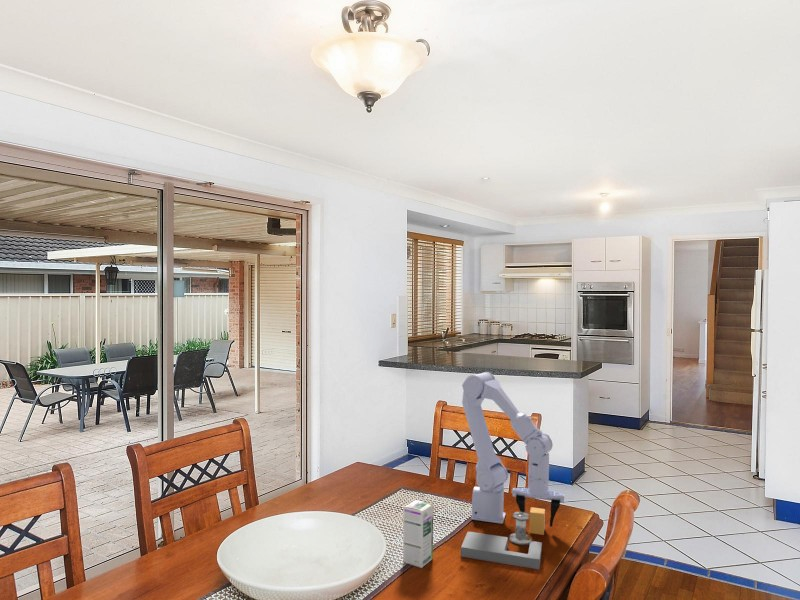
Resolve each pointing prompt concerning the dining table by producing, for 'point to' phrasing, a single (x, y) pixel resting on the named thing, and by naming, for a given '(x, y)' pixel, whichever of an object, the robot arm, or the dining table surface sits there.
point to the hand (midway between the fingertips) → (537, 523)
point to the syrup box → (418, 533)
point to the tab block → (537, 520)
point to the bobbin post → (520, 529)
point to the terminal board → (499, 550)
